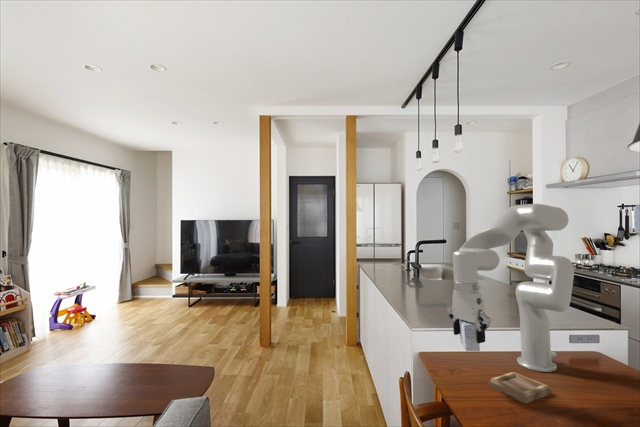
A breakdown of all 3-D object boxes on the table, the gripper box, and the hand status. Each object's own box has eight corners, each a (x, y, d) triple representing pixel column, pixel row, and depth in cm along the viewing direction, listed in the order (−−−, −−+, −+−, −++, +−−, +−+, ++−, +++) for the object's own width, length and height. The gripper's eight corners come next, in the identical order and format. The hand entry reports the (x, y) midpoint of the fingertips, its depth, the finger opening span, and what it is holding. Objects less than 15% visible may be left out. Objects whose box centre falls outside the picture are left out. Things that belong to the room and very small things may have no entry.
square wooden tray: (513, 377, 115) (513, 370, 115) (551, 393, 104) (551, 385, 104) (488, 386, 109) (487, 378, 110) (525, 403, 98) (524, 395, 98)
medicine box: (480, 351, 106) (478, 324, 106) (465, 351, 107) (464, 324, 107) (473, 342, 114) (472, 317, 114) (460, 342, 115) (458, 317, 115)
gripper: (496, 289, 105) (500, 344, 104) (453, 282, 121) (456, 329, 120) (480, 292, 102) (483, 348, 101) (438, 284, 117) (441, 333, 117)
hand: (469, 338), depth 111 cm, fingers closed on medicine box, 9 cm apart
